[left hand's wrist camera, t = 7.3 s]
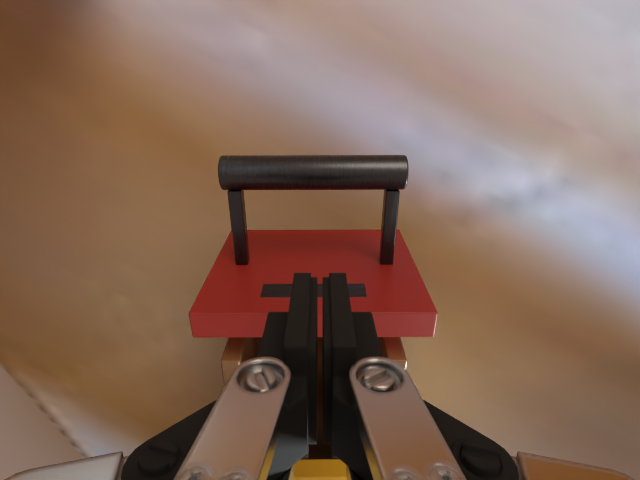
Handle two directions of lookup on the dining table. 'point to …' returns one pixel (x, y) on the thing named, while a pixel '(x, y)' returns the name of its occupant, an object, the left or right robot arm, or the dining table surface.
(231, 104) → the dining table surface
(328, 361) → the left robot arm
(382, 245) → the drawer
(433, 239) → the dining table surface
